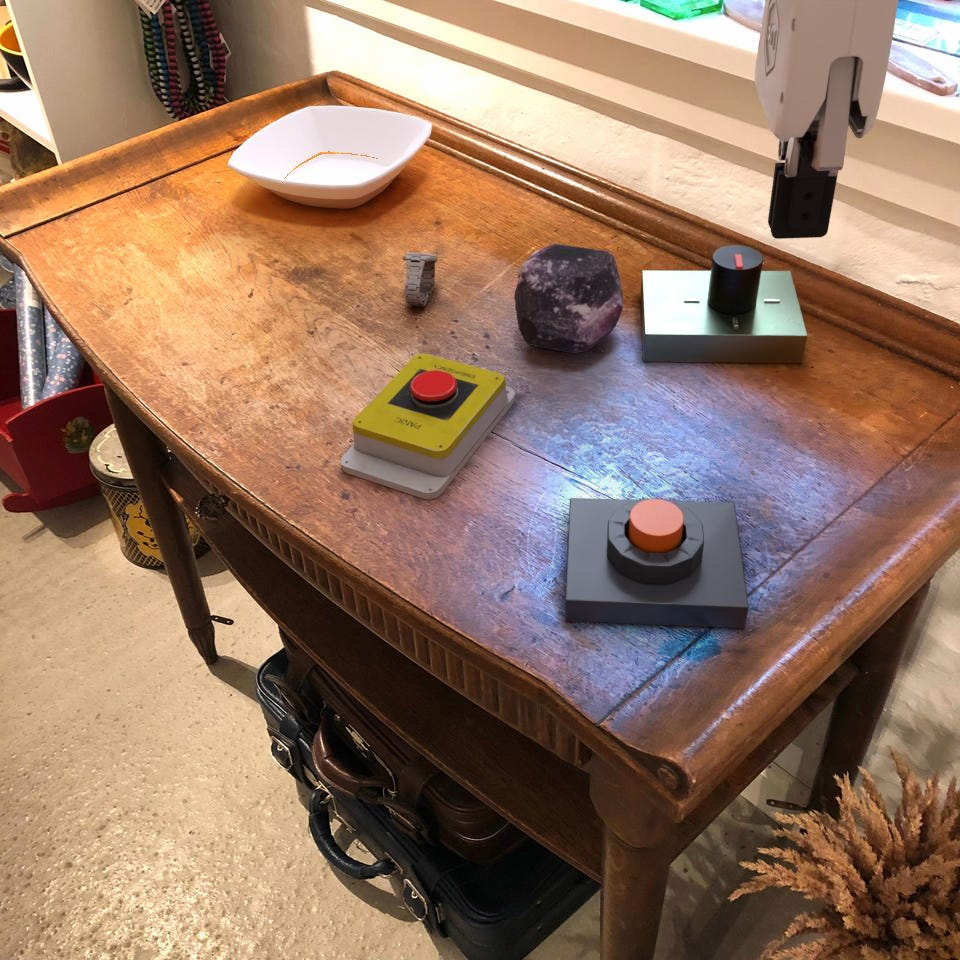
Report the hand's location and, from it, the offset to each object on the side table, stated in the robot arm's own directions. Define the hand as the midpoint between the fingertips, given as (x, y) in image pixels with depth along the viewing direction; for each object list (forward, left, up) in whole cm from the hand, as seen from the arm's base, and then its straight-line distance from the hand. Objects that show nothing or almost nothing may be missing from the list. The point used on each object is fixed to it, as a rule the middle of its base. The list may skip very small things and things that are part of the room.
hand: (796, 231), depth 58 cm
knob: (-1, -24, -20) cm, 32 cm away
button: (+7, +7, -19) cm, 22 cm away
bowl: (+43, -55, -23) cm, 74 cm away
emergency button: (+25, -8, -23) cm, 35 cm away
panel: (0, -24, -23) cm, 34 cm away
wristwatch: (+29, -29, -23) cm, 47 cm away
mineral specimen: (+14, -22, -23) cm, 35 cm away
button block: (+7, +7, -23) cm, 25 cm away
